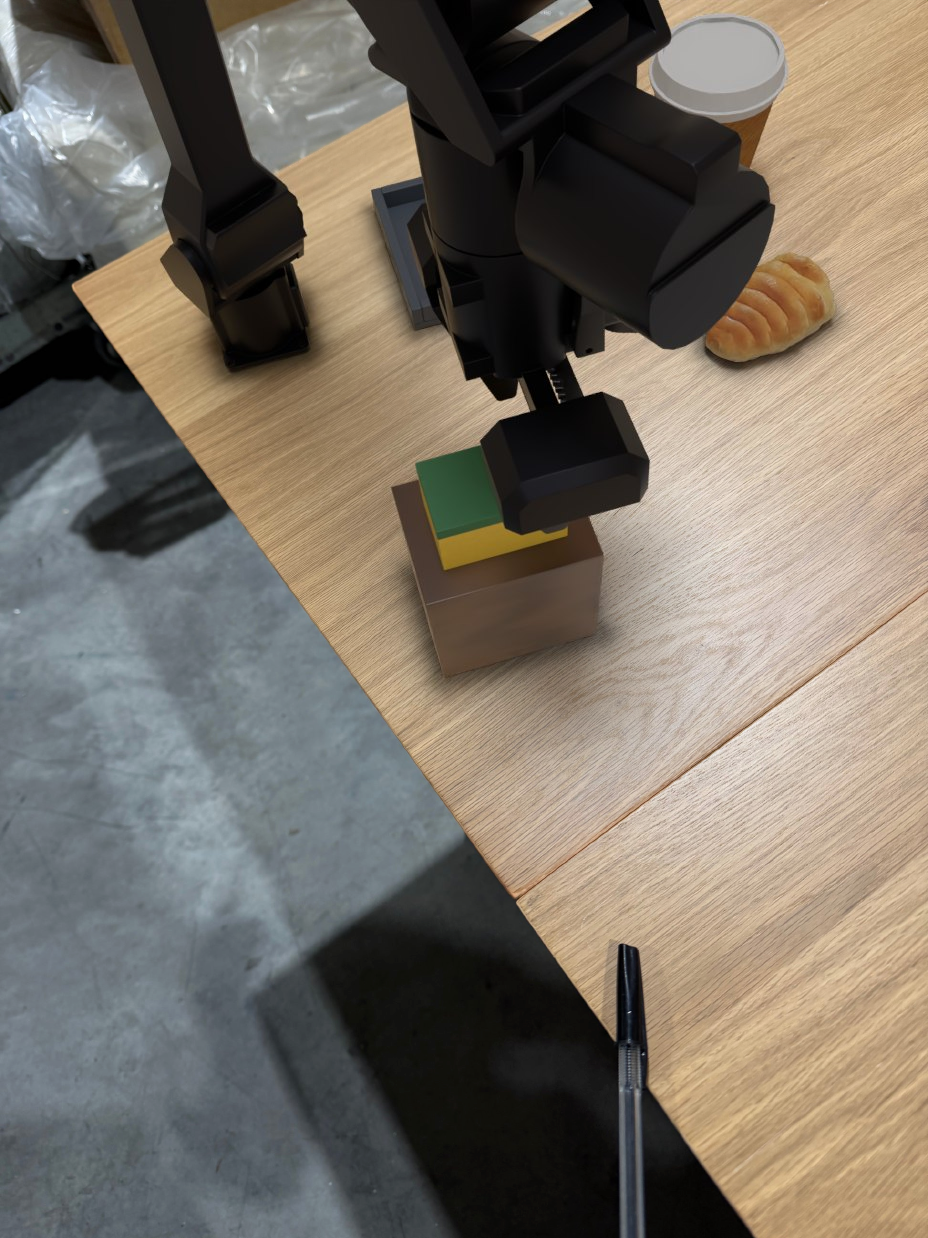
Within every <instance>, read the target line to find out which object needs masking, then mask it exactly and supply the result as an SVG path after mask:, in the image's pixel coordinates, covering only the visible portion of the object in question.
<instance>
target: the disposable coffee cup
mask: <svg viewBox="0 0 928 1238" xmlns="http://www.w3.org/2000/svg"><path fill="white" fill-rule="evenodd" d="M670 31H671V37H672V38H671V41H670V44H669V45H667V46H666V47H665V48H663V49H662V50H660V51H659V52H658V53H656V54H655V55H653V56H652V57H651V58H650V62H649V66H648V77H649V82H650V86H651V88H652V91H653V94H654V95H653V96H655V97H657V98H658V99H660V100H662V101H664V102H666V103H668V104H670V105H672V106H674V107H676V108H678V109H680V110H682V111H685V112H687V113H690V114H695V115H700V116H705V117H708V118H710V119H713V120H715V121H717V122H719V123H721V124H723V125H725V126H727V127H729V128H731V129H733V130H735V131H737V132H738V133H739V135H740V138H741V140H742V147H741V154H740V162H739V163H740V164H742V165H744V166H746V167H747V168H749V169H751V166H752V163H753V160H754V157H755V154H756V152H757V149H758V146H759V144H760V141H761V138H762V136H763V132H764V130H765V128H766V125H767V122H768V119H769V116H770V114H771V110H772V108H773V105H774V102H775V101H776V100H777V98H778V96H779V95H780V93H782V91H783V90H784V88H785V86H786V83H787V80H788V77H789V63H788V61H787V58H786V48H785V45H784V42H783V40H782V38H781V36H780V35H779V34H778V33H777V32H776V31H775V30H774V29H773V28H772V27H771V26H770V25H767V24H766V23H765V22H763V21H761V20H758V19H756V18H753V17H751V16H747V15H741V14H737V13H732V12H731V13H729V12H724V13H723V12H715V13H707V14H706V13H705V14H701V15H697V16H694V17H690V18H687V19H685V20H683V21H681V22H679V23H677V24H676V25H674V26H673V27H672V28H670Z"/></svg>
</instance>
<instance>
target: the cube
mask: <svg viewBox="0 0 928 1238" xmlns="http://www.w3.org/2000/svg"><path fill="white" fill-rule="evenodd" d="M390 489H391V493H392V496H393V501H394V505H395V508H396V512H397V516H398V520H399V524H400V527H401V530H402V535H403V538H404V543H405V545H406V551H407V554H408V558H409V561H410V565H411V568H412V572H413V576H414V579H415V583H416V586H417V590H418V593H419V597H420V600H421V603H422V606H423V607H422V608H423V610H424V614H425V618H426V622H427V624H428V628H429V632H430V635H431V638H432V642H433V644H434V648H435V652H436V654H437V655H436V656H437V660H438V662H439V666H440V669H441V673H442V676H443V678H448V677H451V676H454V675H455V676H456V675H458V674H459V675H460V674H462V673H464V672H469V671H472V670H476V669H480V668H483V667H486V666H490V665H493V664H497V663H501V662H504V661H508V660H511V659H515V658H517V657H521V656H525V655H528V654H531V653H535V652H539V651H542V650H545V649H546V650H547V649H549V648H553V647H556V646H560V645H563V644H566V643H570V642H574V641H577V640H580V639H584V638H587V637H591V636H594V635H597V632H598V631H597V630H598V620H599V612H600V610H599V609H600V602H601V591H602V580H603V572H604V571H603V570H604V561H605V554H604V551H603V548H602V546H601V543H600V540H599V539H598V536H597V533H596V531H595V528H594V526H593V523H592V521H591V518H590V516H589V517H585V518H582V519H578V520H575V521H571V522H570V523H569V524H568V533H567V536H565V537H562V538H558V539H555V540H551V541H547V542H544V543H540V544H537V545H533V546H530V547H526V548H523V549H519V550H515V551H512V552H508V553H505V554H501V555H498V556H494V557H491V558H487V559H483V560H480V561H476V562H473V563H469V564H466V565H462V566H459V567H455V568H451V569H448V570H444V569H443V566H442V562H441V559H440V556H439V553H438V549H437V546H436V543H435V539H434V536H433V533H432V530H431V526H430V523H429V520H428V517H427V513H426V510H425V507H424V503H423V499H422V494H421V489H420V485H419V480H418V479H415V480H412V481H408V482H404V483H401V484H397V485H393V486H391V488H390Z"/></svg>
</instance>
